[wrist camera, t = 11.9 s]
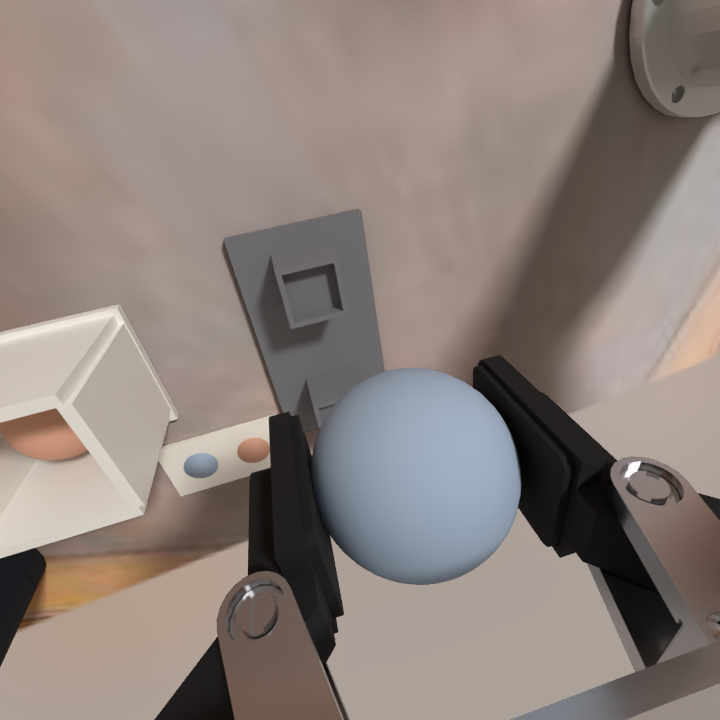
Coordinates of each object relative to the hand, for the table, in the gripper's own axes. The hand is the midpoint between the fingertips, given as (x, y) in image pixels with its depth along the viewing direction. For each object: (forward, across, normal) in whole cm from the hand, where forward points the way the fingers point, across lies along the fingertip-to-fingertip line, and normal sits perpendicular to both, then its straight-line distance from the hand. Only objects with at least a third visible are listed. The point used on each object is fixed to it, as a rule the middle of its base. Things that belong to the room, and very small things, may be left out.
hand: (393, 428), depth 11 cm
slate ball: (+1, 0, 0) cm, 1 cm away
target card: (+15, +10, +13) cm, 22 cm away
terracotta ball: (+15, +16, +4) cm, 22 cm away
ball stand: (+16, +1, +5) cm, 16 cm away
